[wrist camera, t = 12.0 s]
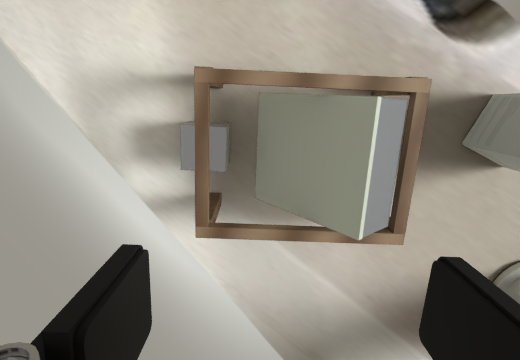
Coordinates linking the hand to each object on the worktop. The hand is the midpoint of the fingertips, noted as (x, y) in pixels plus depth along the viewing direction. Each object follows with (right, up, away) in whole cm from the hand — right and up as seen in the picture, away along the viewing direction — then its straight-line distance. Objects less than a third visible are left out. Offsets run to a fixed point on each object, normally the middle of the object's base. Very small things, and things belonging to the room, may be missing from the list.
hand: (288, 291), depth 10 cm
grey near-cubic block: (-7, +7, +25) cm, 27 cm away
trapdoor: (+8, +7, +26) cm, 28 cm away
